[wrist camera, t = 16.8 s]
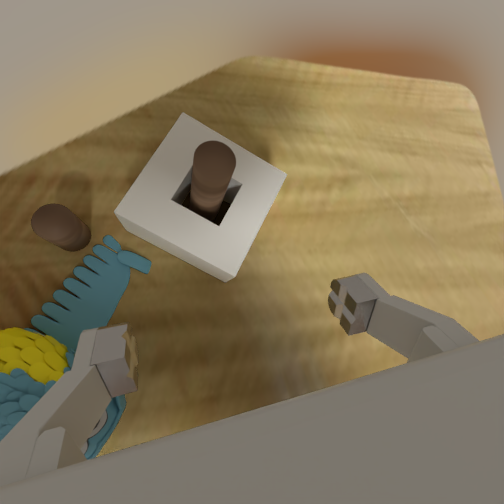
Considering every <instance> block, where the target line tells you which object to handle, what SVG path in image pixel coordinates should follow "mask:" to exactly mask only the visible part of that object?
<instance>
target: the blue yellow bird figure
mask: <svg viewBox="0 0 504 504" xmlns="http://www.w3.org/2000/svg"><path fill="white" fill-rule="evenodd" d="M103 242H104V243H105V244H106V245H107V246H108V247H110V248H111V249H113V250H115V251H116V252H118V253H115V252H113V251H111V250H110V249H108V248H106V247H104V246H102V245H95V246H94V247H93V252H94V253H95V254H96V255H97V256H98V257H100V258H101V259H102V260H104V261H105V262H106V263H105V262H103V261H101V260H99V259H98V258H96V257H94V256H91V255H87V256H85V257H84V259H83V262H84V264H85V265H87V266H88V267H89V268H91V269H92V270H94V271H95V272H96V273H98V274H99V275H98V274H96V273H94V272H92V271H90V270H88V269H87V268H85V267H82V266H77V267H75V268H74V270H73V273H74V275H75V276H76V277H78V278H79V279H80V280H82V281H83V282H85V283H86V284H88V285H89V286H90V287H89V286H87V285H85V284H83V283H81V282H79V281H78V280H76V279H73V278H66V279H65V280H64V282H63V285H64V287H65V288H67V289H68V290H69V291H71V292H72V293H74V294H75V295H77V296H78V297H79V298H78V297H75V296H73V295H72V294H70V293H68V292H66V291H64V290H56V291H55V292H54V293H53V298H54V299H55V300H56V301H57V302H59V303H60V304H62V305H63V306H65V307H66V308H67V309H69V310H70V311H68V310H66V309H64V308H62V307H60V306H58V305H56V304H54V303H51V302H47V303H45V304H43V306H42V311H43V312H44V313H45V314H47V315H48V316H50V317H51V318H53V319H54V320H56V321H57V322H56V321H53V320H51V319H49V318H47V317H45V316H43V315H35V316H34V317H32V319H31V323H32V325H33V326H34V327H36V328H37V329H39V330H40V331H42V332H43V333H45V334H46V335H43V334H41V333H39V332H37V331H35V330H33V329H30V328H25V329H21V328H17V327H13V328H7V329H5V330H0V441H1V440H2V439H3V438H4V437H5V436H6V435H7V434H8V433H9V432H10V431H11V430H12V429H13V428H14V427H15V425H16V424H17V423H18V422H19V421H20V420H21V419H22V418H23V417H24V416H25V415H26V414H27V413H28V412H29V411H30V410H31V408H32V407H33V406H34V405H35V404H36V403H37V402H38V401H39V400H40V399H41V398H42V397H43V396H44V395H45V394H46V393H47V392H48V390H49V389H50V388H51V387H52V386H53V385H54V384H55V383H56V382H57V381H58V380H59V379H60V378H61V377H62V376H63V375H64V374H65V372H67V371H71V369H72V365H73V361H74V357H75V353H76V349H77V346H78V342H79V338H80V334H81V333H82V331H83V330H88V329H94V328H99V327H103V326H107V323H108V321H109V320H110V318H111V316H112V315H113V313H114V311H115V309H116V307H117V304H118V302H119V300H120V298H121V297H122V295H123V293H124V291H125V290H126V288H127V285H128V283H129V279H130V267H132V268H134V269H137V270H139V271H141V272H143V273H145V274H148V273H149V270H150V267H151V261H149V260H148V259H146V258H144V257H141V256H139V255H137V254H135V253H132V252H130V251H127V250H123V251H122V249H121V246H120V244H119V243H118V242H117V241H116V240H115V239H114V238H113V237H112V236H110V235H107V236H105V237H104V238H103ZM58 322H59V323H58ZM111 399H112V400H111V401H110V403H109V405H108V406H107V408H106V410H105V411H104V413H103V414H102V416H101V418H100V419H99V421H98V423H97V424H96V426H95V427H94V429H93V431H92V432H91V434H90V436H89V437H88V439H87V441H86V442H85V444H84V445H83V447H82V449H81V452H82V453H83V454H84V456H85V457H86V459H87V460H89V459H92V458H95V457H96V456H97V455H98V453H99V452H100V450H101V449H102V447H103V446H104V444H105V443H106V441H107V440H108V438H109V437H110V435H111V434H112V432H113V430H114V429H115V427H116V425H117V424H118V422H119V419H120V417H121V415H122V413H123V411H124V409H125V406H126V400H125V394H124V395H120V396H117V397H113V398H111Z"/></svg>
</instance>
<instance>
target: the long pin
mask: <svg viewBox="0 0 504 504" xmlns="http://www.w3.org/2000/svg"><path fill="white" fill-rule="evenodd" d="M235 167H236V157H235V155H234V153H233V151H232V150H231V148H230V147H229V146H227V145H226V144H224V143H222V142H219V141H206V142H204V143H202V144H200V145H199V146H198V147H197V148H196V150H195V152H194V158H193V169H192V181H191V192H190V204H189V210H190V211H192V212H194V213H196V214H198V215H199V216H201V217H203V218H205V219H207V220H209V221H210V222H213V221H214V220H215V219H216V216H217V214H218V211H219V209H220V206H221V204H222V201H223V198H224V196H225V193H226V191H227V188H228V185H229V183H230V180H231V178H232V175H233V172H234V170H235Z"/></svg>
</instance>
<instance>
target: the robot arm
mask: <svg viewBox="0 0 504 504" xmlns="http://www.w3.org/2000/svg"><path fill="white" fill-rule="evenodd" d="M330 287H331V289H332V290H333V291H332V292H331V293H330V294H329V297H328V304H329V308H330V310H331V312H332V314H333V315H334V316H335V317H337V318H339V319H340V325H341V326H342V328H343V329H344V330H345V332H346V333H347V334H348V336H349V335H353V334H357V333H362V332H366V331H367V333H368V334H370V335H371V336H373V337H375V338H376V339H378V340H379V341H381V342H383V343H384V344H386V345H387V346H389V347H391V348H392V349H394V350H395V351H397V352H399V353H400V354H402V355H403V356H405V357H407V358H408V361H407V363H406V364H403V365H399V366H396V367H393V368H389V369H386V370H383V371H380V372H376V373H373V374H370V375H366V376H363V377H360V378H356V379H353V380H350V381H347V382H343V383H340V384H337V385H333V386H330V387H327V388H324V389H320V390H317V391H314V392H310V393H307V394H304V395H301V396H297V397H294V398H291V399H287V400H284V401H281V402H277V403H274V404H271V405H268V406H264V407H261V408H258V409H254V410H251V411H248V412H244V413H241V414H238V415H234V416H231V417H228V418H225V419H221V420H218V421H215V422H211V423H208V424H205V425H201V426H198V427H195V428H192V429H188V430H185V431H182V432H178V433H175V434H172V435H168V436H165V437H162V438H158V439H155V440H152V441H149V442H145V443H142V444H139V445H135V446H132V447H129V448H125V449H122V450H119V451H116V452H112V453H109V454H106V455H102V456H99V457H96V458H92V459H89V460H87V459H86V457H85V456H84V454H83V453H82V452H81V449H82V447H83V445H84V444H85V442H86V441H87V439H88V437H89V436H90V434H91V432H92V431H93V429H94V427H95V426H96V424H97V423H98V421H99V419H100V418H101V416H102V414H103V413H104V411H105V410H106V408H107V406H108V405H109V403H110V401H111V400H112V399H111V398H113V397H117V396H120V395H124V394H127V393H130V392H134V391H137V389H138V372H137V369H136V366H137V364H138V363H139V354H138V346H137V341H136V338H135V337H134V336H132V327H131V324H130V322H125V323H119V324H114V325H108V326H103V327H99V328H94V329H88V330H83V331H82V333H81V334H80V338H79V342H78V346H77V349H76V353H75V357H74V361H73V365H72V369H71V371H67V372H65V374H64V375H63V376H62V377H61V378H60V379H59V380H58V381H57V382H56V383H55V384H54V385H53V386H52V387H51V388H50V389H49V390H48V392H47V393H46V394H45V395H44V396H43V397H42V398H41V399H40V400H39V401H38V402H37V403H36V404H35V405H34V406H33V407H32V408H31V410H30V411H29V412H28V413H27V414H26V415H25V416H24V417H23V418H22V419H21V420H20V421H19V422H18V423H17V424H16V425H15V427H14V428H13V429H12V430H11V431H10V432H9V433H8V434H7V435H6V436H5V437H4V438H3V439H2V440H1V441H0V504H504V334H502V335H498V336H495V337H492V338H489V339H485V340H482V341H479V340H478V339H476V338H475V337H474V336H473V335H472V334H470V333H469V332H468V331H467V330H466V329H465V328H463V327H462V326H461V325H460V324H459V323H457V322H456V321H455V320H454V319H452V318H450V317H447V316H445V315H442V314H440V313H437V312H435V311H432V310H430V309H427V308H424V307H422V306H419V305H417V304H414V303H412V302H409V301H407V300H404V299H402V298H399V297H397V296H394V295H393V296H390V295H389V294H388V293H387V292H386V291H385V290H384V289H383V288H382V287H381V286H380V285H379V284H378V283H377V282H376V281H375V280H374V279H373V278H372V277H370V276H369V275H368V274H367V273H361V274H356V275H352V276H347V277H343V278H338V279H334V280H333V281H332V282H331V286H330Z"/></svg>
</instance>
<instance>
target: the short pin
mask: <svg viewBox="0 0 504 504" xmlns="http://www.w3.org/2000/svg"><path fill="white" fill-rule="evenodd" d="M31 225H32V229H33V231H34V232H35V233H36V234H37V235H38V236H40V237H41V238H43V239H45V240H47V241H49V242H51V243H53V244H55V245H57V246H58V247H60V248H62V249H64V250H67V251H78V250H81V249H83V248H84V247H86V246H87V244H88V243H89V241H90V238H91V232H90V230H89V228H88V227H87V225H85V224H84V223H83V222H82V221H81V220H80V219H79V218H78V217H77V216H76V215H74V214H73V213H72V212H71V211H70V210H69V209H68V208H66V207H65V206H63V205H60V204H47V205H44V206H42V207H40V208H39V209H38V210H37V211H36V212H35V213H34V214H33V216H32V220H31Z"/></svg>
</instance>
